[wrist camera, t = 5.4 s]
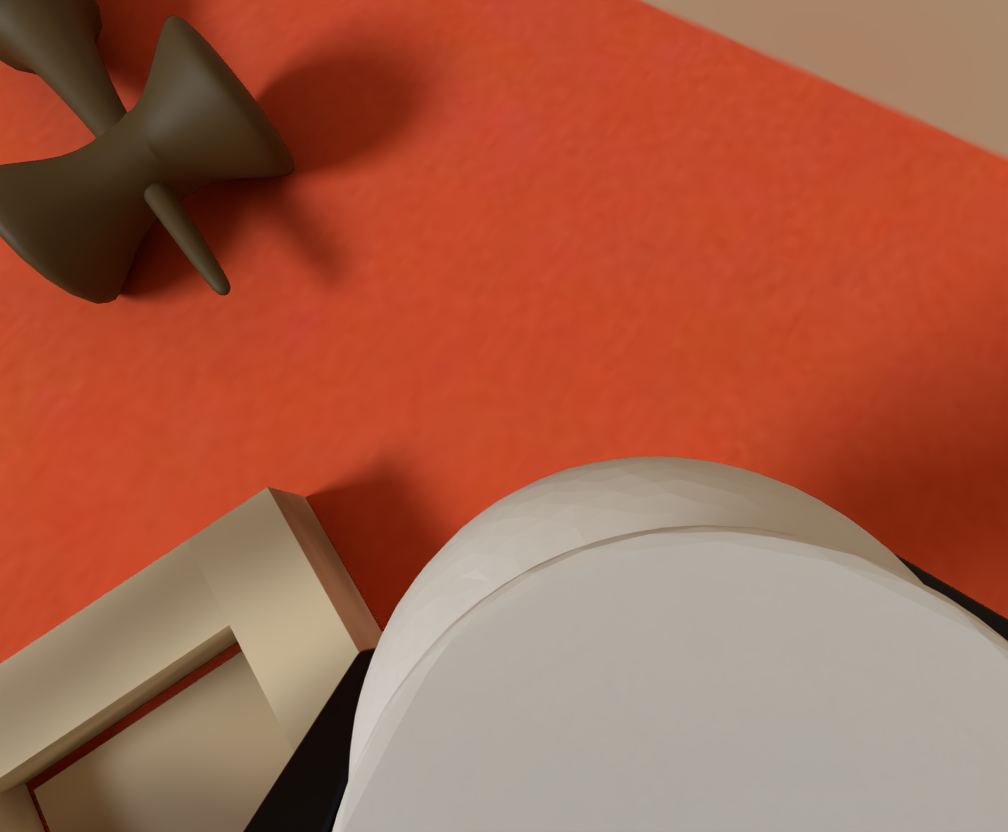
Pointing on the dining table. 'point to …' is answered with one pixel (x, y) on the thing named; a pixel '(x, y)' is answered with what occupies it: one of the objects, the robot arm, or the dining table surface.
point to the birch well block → (169, 658)
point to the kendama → (125, 149)
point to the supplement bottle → (676, 671)
